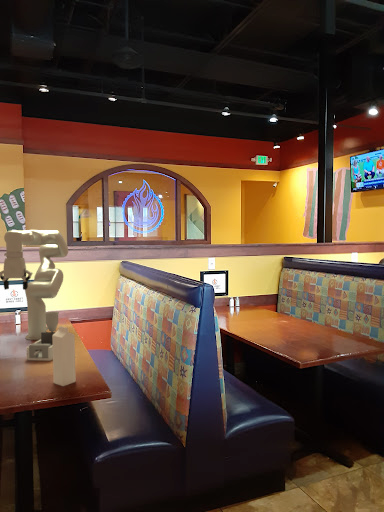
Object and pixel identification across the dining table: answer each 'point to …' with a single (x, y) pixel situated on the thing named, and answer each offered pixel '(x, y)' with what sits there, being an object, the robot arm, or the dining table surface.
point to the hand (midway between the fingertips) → (15, 289)
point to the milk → (63, 357)
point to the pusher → (45, 339)
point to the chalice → (52, 320)
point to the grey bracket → (43, 355)
